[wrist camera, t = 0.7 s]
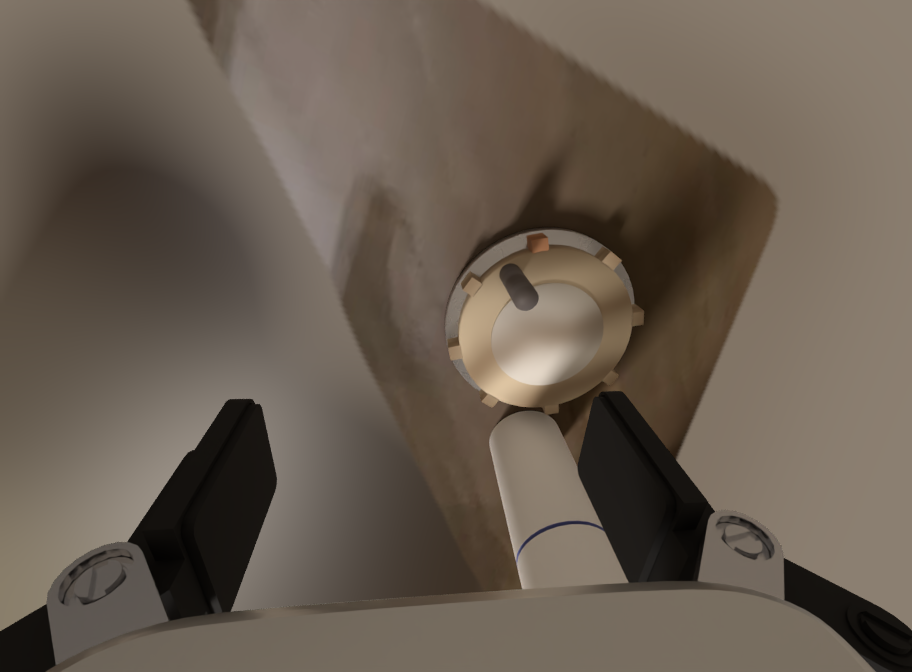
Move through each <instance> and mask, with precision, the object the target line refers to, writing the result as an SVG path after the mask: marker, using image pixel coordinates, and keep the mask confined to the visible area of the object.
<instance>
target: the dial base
mask: <svg viewBox="0 0 912 672" xmlns="http://www.w3.org/2000/svg"><path fill="white" fill-rule="evenodd" d="M538 233H543V234H545V235H546V236H547V237H548V244H554V245H566V246H571V247H575V248H578V249H581V250H584V251H586V252H588V253H590V254H592V255H593V256H595V255H596V253H597V252H598V251H599V250H600V249H601V247H602V246H603V245H602V244H600V243H599V242H597V241H596V240H594V239H593V238H591V237H589V236H586V235H584V234H582V233H579V232H576V231H573V230H570V229H563V228H557V227H542V228H533V229H528V230H524V231H520V232H516V233H514V234H511V235H509V236H506V237H504V238H502V239H500V240H498V241H496V242H495V243H493V244H491V245H490V246H488V247H487V248H486V249H484V250H483V251H481V252H480V253H479V254H478V255H477V256H476V257H475V258H474V259H473V260H472V261H471V262H470V263H469V264H468V265H467V266H466V268H465V269H464V270H463V271H462V273H461V274H460V276H459V278H458V279H457V281H456V282H455V284H454V287H453V289H452V291H451V293H450V296H449V299H448V302H447V307H446V313H445V335H446V342H447V339H450V338H455V337H458V322H459V316H460V312H461V309H462V306H463V303H464V301H465V299H466V297H467V295H468V293H466V292H465V291H463V289H462V286H461V282H462V281H463V280H464V278H465V277H466V275H467V274H468V273H469V271H471V272H472V273H474V274H475V275H477V276H478V277H480V276H481V275H482V274H483V273H484V272H485V271H487V270H488V269H489V268H490V267H491V266H492V265H494V264H495V263H496V262H498V261H499V260H501V259H502V258H504V257H506V256H508V255H510V254H512V253H514V252H517V251H519V250H522V249H525V248H528V247H527V235H532V234H538ZM603 247H605V246H603ZM605 248H606V247H605ZM606 249H608V248H606ZM608 250H609V249H608ZM613 271H614V272H615V273H616V274H617V275H618V276H619V278H620V279H621V280H622V282H623V284H624V285H625V287H626V289H627V291H628V294H629V297H630V300H631V305H632V304H634V294H633V288H632V285H631V282H630V279H629V276H628V274H627V272H626V270H625V268H624V267H623V265H622V264H621V262H620V263H619V264H618V265H617V267H616V268H615V269H614V270H613ZM447 347H448V343H447ZM448 350H449V349H448ZM452 361H453V363H454V365H455V366H456V368H457V370H458V371H459V373H460V374H461V375H462V376H463V377H464V379H465V380H466V381H467V382H468V383H470V384H471V385H472V386H473V387H474V388H476V389H477V390H479V391H480V390H481V388H480V387H479V386H478V385H477V384H476V383H475V382H474V380H473V379H472V378H471V376H470V375H469V373H468V372H467V370H466V367H465V365H464V363H463V360H462V359H456V360H452Z"/></svg>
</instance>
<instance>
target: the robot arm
mask: <svg viewBox="0 0 912 672" xmlns="http://www.w3.org/2000/svg"><path fill="white" fill-rule="evenodd" d="M578 475H579V478H580V480H581V482H582V484H583V486H584V489H585V491H586V493H587V495H588V497H589V499H590V501H591V503H592V506H593V508H594V510H595V512H596V514H597V516H598V518H599V521H600V523H601V525H602V527H603V529H604V531H605V533H606V536H607V538H608V540H609V542H610V544H611V546H612V548H613V551H614V553H615V555H616V557H617V559H618V561H619V563H620V566H621V568H622V570H623V572H624V574H625V576H626V578H627V580H628V582H629V583H615V584H597V585H582V586H567V587H551V588H536V589H520V590H505V591H491V592H477V593H462V594H448V595H435V596H421V597H406V598H393V599H379V600H367V601H353V602H340V603H327V604H314V605H300V606H289V607H278V608H268V609H267V608H266V609H256V610H245V611H234V612H230V611H231V609H232V607H233V604H234V601H235V598H236V596H237V593H238V590H239V588H240V585H241V582H242V579H243V577H244V574H245V571H246V569H247V566H248V563H249V561H250V558H251V555H252V552H253V550H254V547H255V544H256V541H257V539H258V536H259V533H260V530H261V528H262V525H263V522H264V519H265V517H266V514H267V512H268V509H269V506H270V503H271V501H272V498H273V495H274V493H275V489H276V484H277V477H276V472H275V467H274V462H273V458H272V453H271V448H270V444H269V440H268V434H267V430H266V425H265V420H264V416H263V411H262V407H261V405H260V404H255V403H254V401H253V400H252V399H230V400H228V401H227V402H226V403H225V405H224V406H223V407H222V409H221V411H220V412H219V414H218V415H217V417H216V418H215V420H214V421H213V423H212V424H211V426H210V427H209V429H208V430H207V432H206V433H205V435H204V437H203V438H202V439H201V441H200V443H199V444H198V446H197V447H196V449H195V450H192V451H190V452H189V453H188V454H187V455H186V456H185V457H184V458H183V460H182V461H181V463H180V464H179V466H178V467H177V469H176V470H175V472H174V473H173V475H172V476H171V478H170V479H169V481H168V482H167V484H166V485H165V487H164V488H163V490H162V491H161V493H160V494H159V496H158V497H157V499H156V500H155V502H154V503H153V505H152V506H151V507H150V509H149V510H148V512H147V513H146V515H145V516H144V518H143V519H142V521H141V522H140V524H139V525H138V527H137V528H136V530H135V531H134V533H133V534H132V536H131V537H130V539H129V540H128V542H117V543H111V544H107V545H104V546H101V547H99V548H96V549H94V550H91V551H90V552H88V553H86V554H84V555H83V556H81V557H79V558H78V559H76V560H75V561H74V562H73V563H71V564H70V565H69V566H68V567H66V568H65V569H64V570H63V571H62V572H61V574H60V575H59V576H58V577H57V578H56V579H55V580H54V582H53V584H52V586H51V588H50V590H49V591H48V595H47V604H46V605H44V606H42V607H41V608H39V609H37V610H36V611H34V612H32V613H31V614H29V615H27V616H25V617H24V618H22V619H20V620H19V621H17V622H15V623H14V624H12V625H10V626H9V627H7V628H5V629H4V630H2V631H0V672H912V630H911V629H910V628H909V627H908V626H906V625H905V624H904V623H902V622H901V621H900V620H899V619H898V618H896V617H895V616H894V615H892V614H890V613H889V612H887V611H885V610H884V609H882V608H880V607H879V606H877V605H874V604H873V603H871V602H869V601H867V600H865V599H863V598H861V597H859V596H857V595H855V594H853V593H851V592H849V591H847V590H845V589H843V588H842V587H840V586H838V585H836V584H834V583H832V582H830V581H828V580H826V579H824V578H822V577H820V576H818V575H816V574H814V573H812V572H810V571H808V570H806V569H804V568H802V567H801V566H798V565H796V564H795V563H793V562H791V561H789V560H787V559H785V558H784V556H783V551H782V547H781V545H780V543H779V542H778V540H777V538H776V537H775V536H774V535H773V534H772V533H771V532H770V531H769V530H768V529H767V528H766V527H765V526H763V525H762V524H761V523H759V522H758V521H757V520H755V519H753V518H751V517H749V516H747V515H745V514H742V513H739V512H736V511H729V510H721V511H716V512H715V511H714V510H713V508H712V507H711V506H710V504H709V503H708V501H707V500H706V498H705V497H704V496H703V495H702V493H701V492H700V491H699V490H698V488H697V487H696V486H695V484H694V483H693V482H692V481H691V479H690V478H689V477H688V475H687V474H686V473H685V471H684V470H683V469H682V468H681V466H680V465H679V464H678V462H677V461H676V460H675V458H674V457H673V456H672V455H671V453H670V452H669V451H668V449H667V448H666V447H665V445H664V444H663V443H662V442H661V440H660V439H659V438H658V436H657V435H656V434H655V433H654V431H653V430H652V429H651V427H650V426H649V425H648V424H647V422H646V421H645V420H644V418H643V417H642V416H641V414H640V413H639V412H638V411H637V409H636V408H635V407H634V405H633V404H632V403H631V402H630V400H629V399H628V398H627V396H626V395H625V394H624V393H623V392H621V391H608V392H601V393H600V394H599V397H595V398H594V399H593V403H592V407H591V411H590V415H589V420H588V424H587V428H586V432H585V436H584V441H583V445H582V449H581V453H580V457H579V462H578Z"/></svg>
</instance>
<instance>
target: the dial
mask: <svg viewBox="0 0 912 672" xmlns="http://www.w3.org/2000/svg"><path fill="white" fill-rule="evenodd" d="M527 247H528V248H525V249H522V250H519V251H517V252H514V253H512V254H510V255H508V256H506V257H504V258H502V259H501V260H499V261H498V262H496V263H495V264H494V265H492V266H491V267H490V268H489V269H488V270H487V271H485V272H484V273H483V274H482V275H481V276H480V277H478V276H477V275H475V274H474V273H472V272H471V271H469V273H468V274H467V275H466V277H465V278H464V280H463V281H462V282H461V286H462V289H463V291H465V292H466V293H468V295H467V297H466V299H465V301H464V303H463V306H462V309H461V312H460V316H459V322H458V337H455V338H450V339H447V343H448V349H449V354H450V359H451V360H456V359H462V360H463V363H464V365H465V367H466V370H467V372H468V373H469V375H470V376H471V378H472V379H473V380H474V382H475V383H476V384H477V385H478V386H479V387H480V388H481V390H480V391H479V394H480V398H481V402H483V403H485V404H487V405H488V406H490V407H492V408H493V406H494V405H495V404H496V403H497V402H498V401H499V400H500V401H502V402H505V403H508V404H511V405H516V406H521V407H542V408H543V410H544V413H545V415H549V414H554V413H559V406H558V404H561V403H564V402H567V401H570V400H573V399H575V398H577V397H579V396H581V395H583V394H585V393H586V392H588V391H590V390H591V389H592V388H594V387H595V386H596V385H598V384H599V383H600V382H601V381H603V382H605V383H606V384H608V385H609V386H610V385H611V384H612V383H613V382H614V381H615V380H616V379H617V378H618V377H619V375H618V373H617V372H616V371H615V370H614V368H615V366H616V365H617V363H618V362H619V361H620V359H621V357H622V355H623V353H624V352H625V350H626V347H627V345H628V342H629V339H630V335H631V331H632V327H633V326H638V325H644V311H643V310H642V309H641V308H640V307H639V306H637V305H636V304H632V305H631V300H630V297H629V294H628V291H627V289H626V287H625V285H624V284H623V282H622V280H621V279H620V278H619V276H618V275H617V274H616V273H615V272H614V271H613V270H614V269H615V268H616V267H617V265H618V264H619V263H620V262H621V261H622V260H621V259H620V258H618V257H617V256H616V255H615V254H614V253H612V252H611V251H610V250H608V249H606V248H605V247H603V246H602V247H601V249H600V250H599V251H598V252H597V253H596V255H595V256H593V255H592V254H590V253H588V252H586V251H584V250H581V249H578V248H575V247H571V246H566V245H554V244H548V237H547V236H546V235H545V234H543V233H538V234H532V235H527Z"/></svg>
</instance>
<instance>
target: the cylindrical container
mask: <svg viewBox="0 0 912 672" xmlns="http://www.w3.org/2000/svg"><path fill="white" fill-rule="evenodd" d="M489 444H490V450H491V454H492V459H493V463H494V468H495V472H496V476H497V481H498V485H499V489H500V494H501V498H502V503H503V507H504V511H505V516H506V520H507V524H508V529H509V533H510V537H511V542H512V546H513V551H514V555H515V559H516V564H517V567H518V572H519V577H520V581H521V585H522V589H536V588H551V587H567V586H582V585H597V584H615V583H629V582H628V580H627V578H626V576H625V574H624V572H623V570H622V568H621V566H620V563H619V561H618V559H617V557H616V555H615V553H614V551H613V548H612V546H611V544H610V542H609V540H608V538H607V536H606V533H605V531H604V529H603V527H602V525H601V523H600V521H599V518H598V516H597V514H596V512H595V510H594V508H593V506H592V503H591V501H590V499H589V497H588V495H587V493H586V491H585V489H584V486H583V484H582V482H581V480H580V478H579V475H578V467H577V465H576V463H575V461H574V459H573V457H572V455H571V452H570V450H569V448H568V446H567V444H566V442H565V440H564V438H563V436H562V433H561V431H560V429H559V427H558V425H557V423H556V422H555V420H553V419H552V418H551V417H550V416H548V415H545V414H544V413H542V412H538V411H522V412H517V413H514V414H511V415H509V416H507V417H506V418H504V419H503V420H501V421H500V422H499V423H498V424H497V425H496V426H495V428H494V429H493V431H492V433H491V436H490V441H489Z"/></svg>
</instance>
